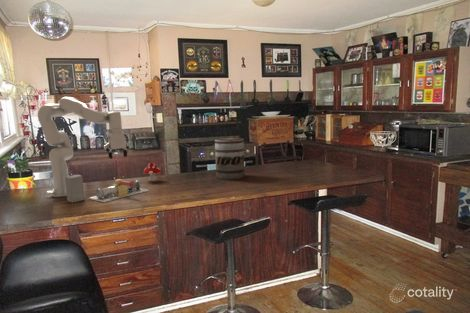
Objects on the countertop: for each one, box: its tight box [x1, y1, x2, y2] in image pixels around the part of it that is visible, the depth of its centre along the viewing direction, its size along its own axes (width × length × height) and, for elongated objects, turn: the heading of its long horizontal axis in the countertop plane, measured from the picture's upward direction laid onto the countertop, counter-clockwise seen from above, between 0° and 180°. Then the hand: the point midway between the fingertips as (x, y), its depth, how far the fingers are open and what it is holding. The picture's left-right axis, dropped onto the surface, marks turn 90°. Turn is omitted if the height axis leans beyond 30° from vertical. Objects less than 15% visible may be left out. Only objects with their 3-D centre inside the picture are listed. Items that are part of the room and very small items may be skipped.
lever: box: [114, 178, 135, 187], centre depth 230 cm, size 17×4×3 cm, turn 53°
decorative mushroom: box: [142, 161, 162, 182], centre depth 274 cm, size 14×14×15 cm
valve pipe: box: [88, 180, 149, 203], centre depth 234 cm, size 34×16×7 cm, turn 143°
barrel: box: [214, 137, 246, 181], centre depth 282 cm, size 22×22×30 cm
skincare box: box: [65, 174, 85, 204], centre depth 221 cm, size 8×7×16 cm
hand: (118, 157), depth 232 cm, fingers open, 9 cm apart
